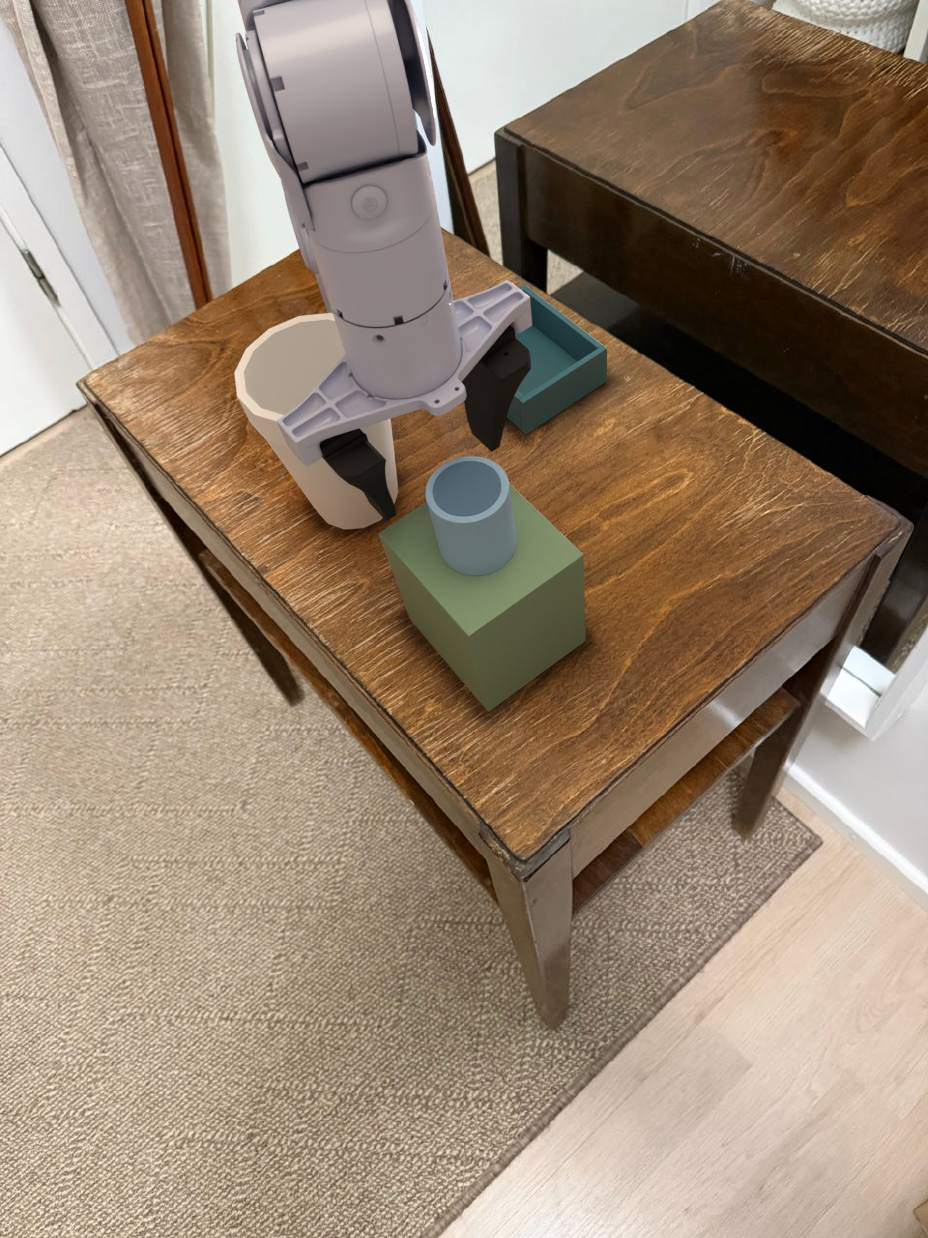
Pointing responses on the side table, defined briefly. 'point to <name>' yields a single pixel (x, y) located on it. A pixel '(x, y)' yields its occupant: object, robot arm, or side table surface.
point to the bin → (555, 365)
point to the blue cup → (472, 515)
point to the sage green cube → (493, 601)
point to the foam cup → (283, 379)
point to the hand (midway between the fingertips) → (435, 473)
